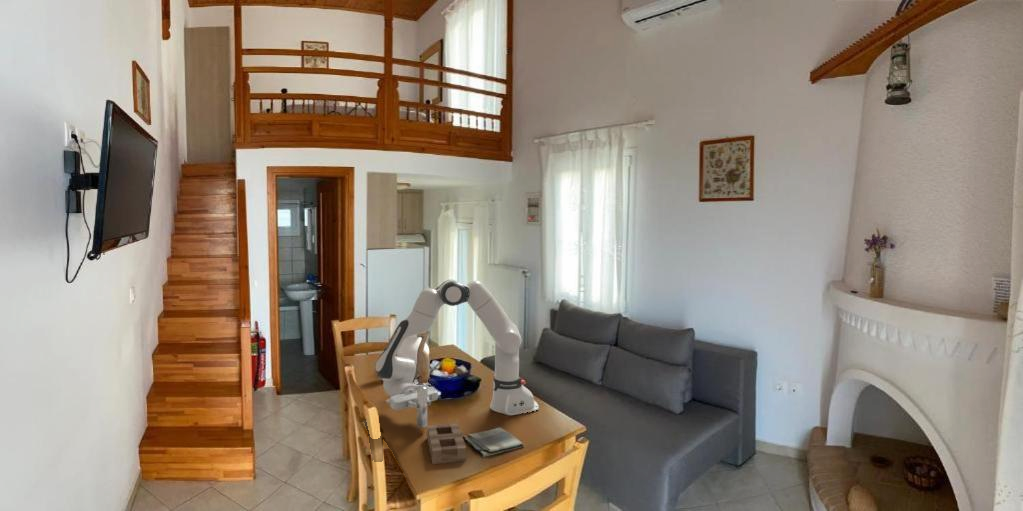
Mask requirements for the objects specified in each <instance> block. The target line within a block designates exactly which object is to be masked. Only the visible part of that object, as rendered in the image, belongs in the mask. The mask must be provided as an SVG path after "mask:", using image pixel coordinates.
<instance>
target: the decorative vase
mask: <svg viewBox="0 0 1023 511" xmlns="http://www.w3.org/2000/svg"><path fill="white" fill-rule="evenodd" d="M421 340H422V337H418V338H417V334H415V335H412V336H409V337H407V338H406V339H405V340H404V341H403V343H402V344H401V346H400V348H399V350H398V352H397V354H396V355H397V357H404V358H409V359H413V360H414V361H415V362H416V364H417V352H418V347H419V345H420V342H421ZM424 351H425V352H426V353H427V354H428V355H430V347H429V346H428V344H427V342H425V345H424Z"/></svg>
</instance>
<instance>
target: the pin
mask: <svg viewBox="0 0 1023 511" xmlns="http://www.w3.org/2000/svg"><path fill="white" fill-rule="evenodd" d="M427 394H428V387H427V386H419V387H418V388H417V403H418V404H419V408H417V409H416V412H417V413H416V414H417V416H416V418H417V419H416V421H417V422H416V424H417V425H416V427H417V428H419V429H425V428H426V427H428V406H427Z"/></svg>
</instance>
